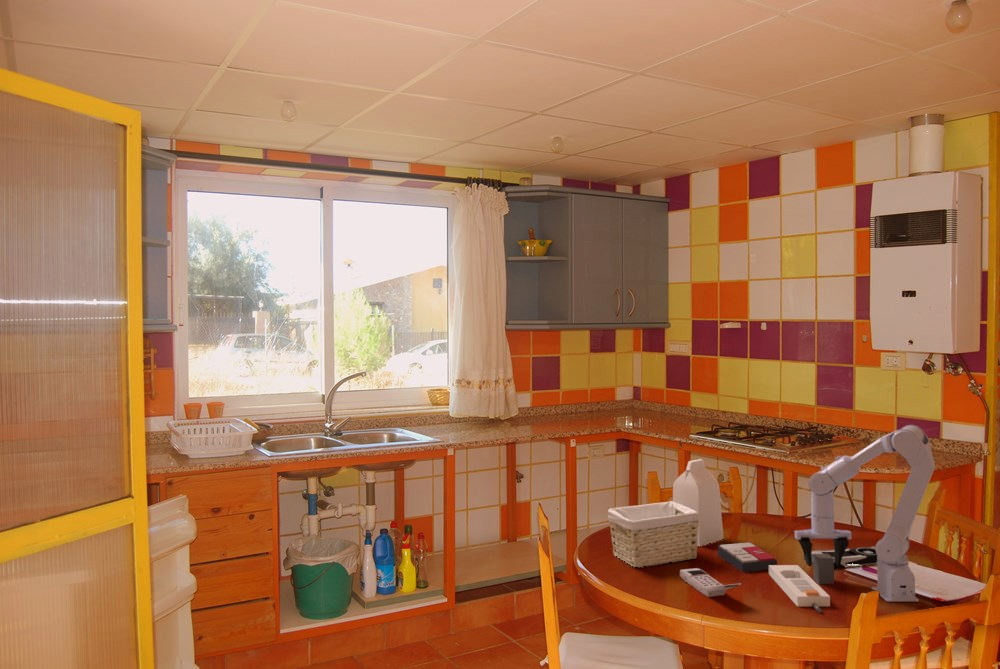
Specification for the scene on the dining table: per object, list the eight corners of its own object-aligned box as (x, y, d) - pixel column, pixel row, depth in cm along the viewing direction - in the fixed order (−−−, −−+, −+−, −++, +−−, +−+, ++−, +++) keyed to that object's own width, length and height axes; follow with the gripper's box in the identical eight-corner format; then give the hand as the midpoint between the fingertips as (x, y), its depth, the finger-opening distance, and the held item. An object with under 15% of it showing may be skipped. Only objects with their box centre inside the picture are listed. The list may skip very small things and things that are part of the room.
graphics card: (803, 550, 225) (878, 544, 229) (803, 561, 225) (878, 555, 229) (823, 560, 215) (901, 553, 219) (823, 572, 215) (901, 565, 219)
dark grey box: (742, 560, 215) (717, 543, 230) (742, 575, 215) (717, 556, 230) (777, 557, 217) (750, 540, 232) (777, 572, 218) (750, 553, 232)
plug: (833, 583, 204) (833, 558, 204) (818, 584, 205) (818, 558, 204) (827, 577, 209) (826, 552, 209) (812, 577, 209) (812, 552, 209)
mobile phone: (721, 585, 189) (674, 555, 214) (721, 609, 189) (674, 576, 214) (742, 583, 191) (693, 553, 215) (742, 606, 191) (693, 574, 215)
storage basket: (631, 571, 219) (630, 520, 219) (606, 554, 234) (605, 507, 234) (702, 560, 227) (701, 511, 226) (673, 545, 242) (672, 499, 242)
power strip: (837, 613, 184) (836, 600, 184) (803, 613, 185) (803, 600, 185) (797, 573, 213) (797, 562, 213) (768, 574, 213) (768, 562, 213)
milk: (699, 546, 240) (697, 465, 239) (671, 538, 249) (670, 460, 248) (723, 539, 247) (722, 460, 246) (695, 532, 256) (694, 455, 256)
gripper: (843, 511, 210) (844, 560, 210) (790, 511, 211) (791, 560, 211) (854, 518, 203) (854, 568, 203) (799, 518, 203) (799, 568, 204)
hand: (823, 564), depth 206 cm, fingers open, 7 cm apart
